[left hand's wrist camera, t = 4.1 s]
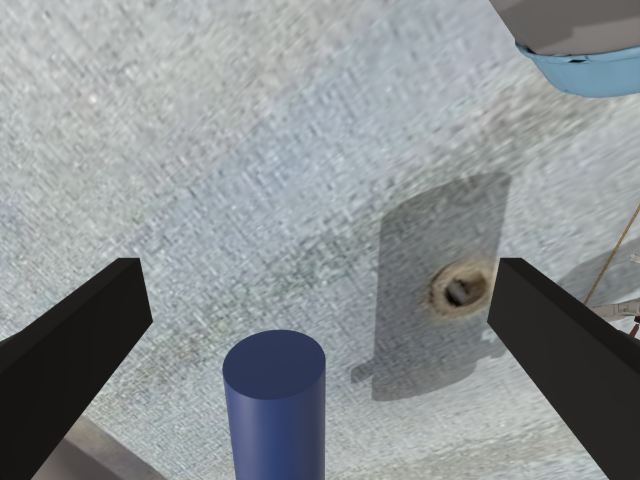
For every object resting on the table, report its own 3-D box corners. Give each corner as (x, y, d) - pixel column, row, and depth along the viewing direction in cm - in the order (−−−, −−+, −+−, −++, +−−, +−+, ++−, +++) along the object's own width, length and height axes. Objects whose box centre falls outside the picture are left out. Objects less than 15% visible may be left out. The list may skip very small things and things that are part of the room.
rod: (236, 329, 34) (208, 399, 26) (325, 329, 34) (326, 400, 26) (254, 509, 43) (238, 603, 35) (324, 510, 43) (324, 603, 35)
